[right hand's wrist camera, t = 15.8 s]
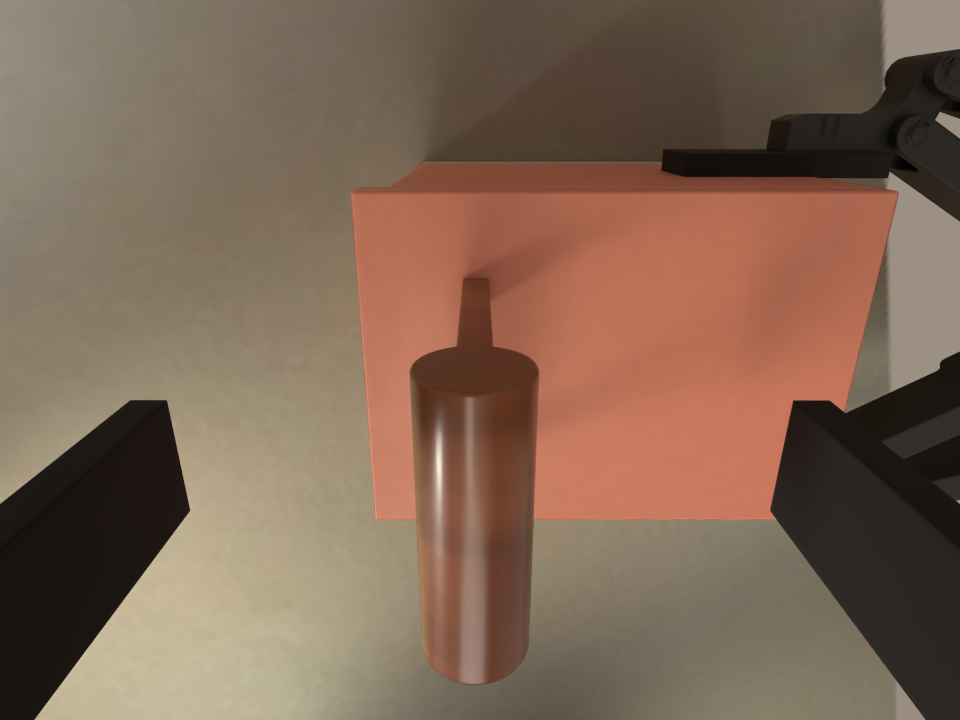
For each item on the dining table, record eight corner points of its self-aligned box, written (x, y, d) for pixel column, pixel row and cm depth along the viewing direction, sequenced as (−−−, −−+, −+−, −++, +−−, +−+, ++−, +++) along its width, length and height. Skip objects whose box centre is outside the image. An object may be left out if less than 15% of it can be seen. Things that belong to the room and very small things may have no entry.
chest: (429, 373, 30) (405, 501, 20) (422, 161, 26) (388, 186, 16) (693, 373, 30) (802, 500, 20) (723, 161, 26) (875, 186, 16)
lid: (380, 502, 20) (312, 763, 12) (357, 187, 16) (235, 253, 8) (803, 501, 20) (1025, 762, 12) (876, 187, 16) (1273, 252, 8)
